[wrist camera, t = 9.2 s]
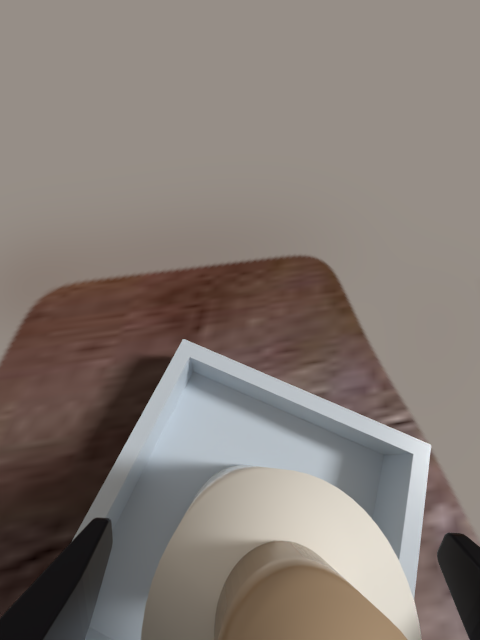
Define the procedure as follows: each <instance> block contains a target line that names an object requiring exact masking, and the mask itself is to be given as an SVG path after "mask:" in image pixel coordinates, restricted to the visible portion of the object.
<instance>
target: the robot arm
mask: <svg viewBox="0 0 480 640" xmlns="http://www.w3.org/2000/svg"><path fill="white" fill-rule="evenodd" d="M112 544H113V536H112V523H111V519H110V518H98V517H97V518H94V519H93V520H92V521H91V522H90V523H89V524H88V525H87V526H86V527H85V528H84V529H83V530H82V531H81V532H80V533H79V534H78V535H77V537H76V538H75V539H74V540H73V541H72V542H71V543H70V544H69V545H68V546H67V547H66V548H65V549H64V550H63V552H62V553H61V554H60V555H59V556H58V557H57V558H56V559H55V560H54V561H53V562H52V563H51V564H50V565H49V566H48V568H47V569H46V570H45V571H44V572H43V573H42V574H41V575H40V576H39V577H38V578H37V579H36V580H35V581H34V583H33V584H32V585H31V586H30V587H29V588H28V589H27V590H26V591H25V592H24V593H23V594H22V595H21V596H20V598H19V599H18V600H17V601H16V602H15V603H14V604H13V605H12V606H11V607H10V608H9V609H8V610H7V611H6V613H5V614H4V615H3V616H2V617H1V618H0V640H85V638H86V635H87V632H88V629H89V626H90V623H91V619H92V616H93V613H94V609H95V606H96V602H97V599H98V595H99V592H100V588H101V585H102V581H103V577H104V574H105V570H106V567H107V563H108V560H109V556H110V553H111V549H112ZM437 558H438V562H439V565H440V568H441V570H442V573H443V575H444V578H445V580H446V583H447V585H448V588H449V590H450V593H451V595H452V598H453V600H454V603H455V605H456V607H457V610H458V612H459V615H460V617H461V620H462V622H463V625H464V627H465V630H466V632H467V634H468V637H469V639H470V640H480V547H479V546H478V545H477V544H475V543H474V542H473V541H472V540H471V539H469V538H468V537H467V536H465V535H464V534H461V533H447V534H446V535H445V536H444V538H443V541H442V543H441V545H440V547H439V550H438V552H437Z"/></svg>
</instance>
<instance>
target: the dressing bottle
mask: <svg viewBox="0 0 480 640" xmlns="http://www.w3.org/2000/svg"><path fill="white" fill-rule="evenodd" d="M141 640H422V639H421V632H420V625H419V620H418V616H417V611H416V607H415V603H414V599H413V596H412V593H411V590H410V587H409V584H408V581H407V578H406V576H405V574H404V571H403V569H402V567H401V564H400V562H399V560H398V558H397V556H396V554H395V552H394V551H393V549H392V547H391V545H390V543H389V542H388V540H387V538H386V537H385V536H384V534H383V533H382V531H381V530H380V528H379V527H378V525H377V524H376V523H375V522H374V521H373V519H372V518H371V517H370V516H369V515H368V514H367V512H366V511H365V510H364V509H363V508H362V507H361V506H360V505H358V504H357V503H356V502H355V501H354V500H353V499H352V498H351V497H349V496H348V495H347V494H345V493H344V492H343V491H341V490H340V489H339V488H337V487H335V486H333V485H332V484H330V483H328V482H326V481H324V480H322V479H320V478H317V477H315V476H312V475H310V474H306V473H302V472H297V471H293V470H285V469H276V468H268V467H260V466H251V465H236V466H232V467H228V468H226V469H223V470H221V471H219V472H217V473H216V474H215V475H213V476H212V477H211V478H210V479H208V480H207V481H206V482H205V483H204V485H203V486H202V487H201V488H200V490H199V491H198V493H197V494H196V496H195V498H194V499H193V501H192V503H191V505H190V506H189V508H188V510H187V512H186V513H185V515H184V517H183V518H182V520H181V522H180V524H179V525H178V527H177V529H176V531H175V532H174V534H173V536H172V538H171V539H170V541H169V543H168V545H167V547H166V549H165V551H164V553H163V555H162V557H161V559H160V561H159V564H158V567H157V569H156V572H155V574H154V577H153V580H152V583H151V587H150V590H149V594H148V598H147V602H146V606H145V612H144V618H143V624H142V631H141Z"/></svg>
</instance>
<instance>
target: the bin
mask: <svg viewBox="0 0 480 640" xmlns="http://www.w3.org/2000/svg"><path fill="white" fill-rule="evenodd" d="M430 451H431V445H430V444H428V443H426V442H423V441H421V440H419V439H416V438H414V437H412V436H409V435H407V434H405V433H402V432H400V431H398V430H395V429H393V428H391V427H388V426H386V425H384V424H381V423H379V422H377V421H374V420H372V419H370V418H367V417H365V416H363V415H360V414H358V413H356V412H353V411H351V410H348V409H346V408H344V407H341V406H339V405H337V404H334V403H332V402H330V401H327V400H325V399H323V398H320V397H318V396H316V395H313V394H311V393H309V392H306V391H304V390H302V389H299V388H297V387H295V386H292V385H290V384H288V383H285V382H283V381H281V380H278V379H276V378H274V377H271V376H269V375H267V374H264V373H262V372H260V371H257V370H255V369H253V368H250V367H248V366H246V365H243V364H241V363H239V362H236V361H234V360H232V359H229V358H227V357H225V356H222V355H220V354H218V353H215V352H213V351H211V350H208V349H206V348H204V347H201V346H199V345H197V344H194V343H192V342H190V341H187V340H185V339H183V340H182V342H181V344H180V346H179V348H178V349H177V351H176V353H175V355H174V357H173V358H172V360H171V362H170V364H169V366H168V368H167V369H166V371H165V373H164V375H163V377H162V378H161V380H160V382H159V384H158V386H157V387H156V389H155V391H154V393H153V395H152V397H151V398H150V400H149V402H148V404H147V406H146V407H145V409H144V411H143V413H142V415H141V417H140V418H139V420H138V422H137V424H136V426H135V427H134V429H133V431H132V433H131V435H130V437H129V438H128V440H127V442H126V444H125V446H124V447H123V449H122V451H121V453H120V455H119V456H118V458H117V460H116V462H115V464H114V466H113V467H112V469H111V471H110V473H109V475H108V476H107V478H106V480H105V482H104V484H103V486H102V487H101V489H100V491H99V493H98V495H97V496H96V498H95V500H94V502H93V504H92V506H91V507H90V509H89V511H88V513H87V515H86V516H85V518H84V520H83V522H82V524H81V526H80V527H79V529H78V531H77V533H76V535H75V536H74V538H73V540H74V539H75V538H76V537H77V535H78V534H79V533H80V532H81V531H82V530H83V529H84V528H85V527H86V526H87V525H88V524H89V523H90V522H91V521H92V520H93V519H94V518H97V517H98V518H110V519H111V523H112V536H113V544H112V549H111V553H110V556H109V560H108V563H107V567H106V570H105V574H104V577H103V581H102V585H101V588H100V592H99V595H98V599H97V602H96V606H95V609H94V613H93V616H92V619H91V623H90V626H89V629H88V632H87V635H86V638H85V640H141V631H142V624H143V618H144V612H145V606H146V602H147V598H148V594H149V590H150V587H151V583H152V580H153V577H154V574H155V572H156V569H157V567H158V564H159V561H160V559H161V557H162V555H163V553H164V551H165V549H166V547H167V545H168V543H169V541H170V539H171V538H172V536H173V534H174V532H175V531H176V529H177V527H178V525H179V524H180V522H181V520H182V518H183V517H184V515H185V513H186V512H187V510H188V508H189V506H190V505H191V503H192V501H193V499H194V498H195V496H196V494H197V493H198V491H199V490H200V488H201V487H202V486H203V485H204V483H205V482H206V481H207V480H208V479H210V478H211V477H212V476H213V475H215V474H216V473H217V472H219V471H221V470H223V469H226V468H228V467H232V466H236V465H251V466H260V467H268V468H276V469H285V470H293V471H297V472H302V473H306V474H310V475H312V476H315V477H317V478H320V479H322V480H324V481H326V482H328V483H330V484H332V485H333V486H335V487H337V488H339V489H340V490H341V491H343V492H344V493H345V494H347V495H348V496H349V497H351V498H352V499H353V500H354V501H355V502H356V503H357V504H358V505H360V506H361V507H362V508H363V509H364V510H365V511H366V512H367V514H368V515H369V516H370V517H371V518H372V519H373V521H374V522H375V523H376V524H377V525H378V527H379V528H380V530H381V531H382V533H383V534H384V536H385V537H386V538H387V540H388V542H389V543H390V545H391V547H392V549H393V551H394V552H395V554H396V556H397V558H398V560H399V562H400V564H401V567H402V569H403V571H404V574H405V576H406V578H407V581H408V584H409V587H410V590H411V593H412V596H413V599H414V594H415V585H416V576H417V567H418V558H419V549H420V540H421V531H422V522H423V513H424V504H425V495H426V486H427V477H428V468H429V460H430ZM73 540H72V541H73Z"/></svg>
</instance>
